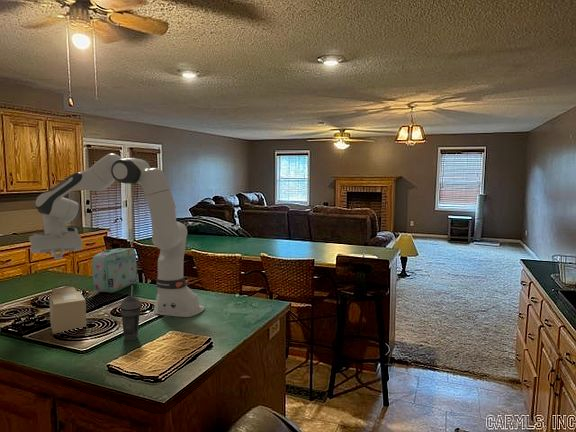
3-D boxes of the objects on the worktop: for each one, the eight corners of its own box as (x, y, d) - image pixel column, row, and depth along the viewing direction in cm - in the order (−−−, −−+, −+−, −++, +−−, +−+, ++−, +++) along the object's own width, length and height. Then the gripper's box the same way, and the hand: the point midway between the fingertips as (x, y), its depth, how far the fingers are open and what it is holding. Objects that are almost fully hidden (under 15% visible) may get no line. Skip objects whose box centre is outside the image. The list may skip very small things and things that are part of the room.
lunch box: (108, 296, 195) (107, 253, 193) (89, 294, 197) (89, 252, 195) (139, 282, 221) (138, 244, 219) (122, 281, 223) (122, 243, 221)
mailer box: (50, 324, 157) (49, 297, 156) (81, 319, 163) (80, 293, 162) (53, 334, 147) (52, 305, 146) (86, 329, 154) (85, 301, 152)
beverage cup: (134, 332, 152) (134, 280, 150) (145, 337, 147) (145, 284, 145) (116, 337, 146) (115, 284, 144) (126, 343, 142) (126, 288, 140)
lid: (48, 291, 164) (48, 289, 164) (76, 287, 170) (76, 285, 170) (53, 306, 146) (53, 303, 146) (85, 301, 152) (85, 299, 152)
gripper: (28, 230, 175) (30, 256, 168) (81, 228, 187) (84, 252, 180) (28, 238, 179) (30, 264, 172) (79, 236, 191) (83, 260, 184)
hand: (58, 258), depth 176 cm, fingers closed
